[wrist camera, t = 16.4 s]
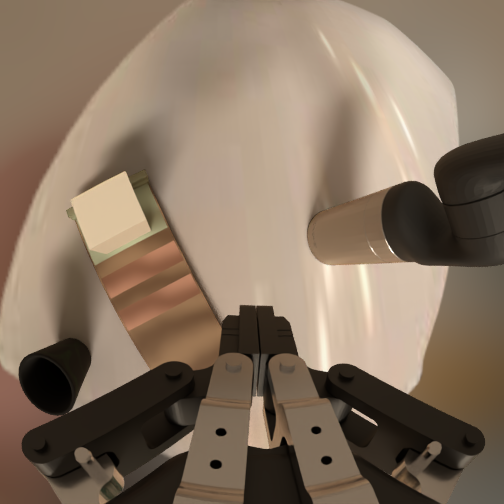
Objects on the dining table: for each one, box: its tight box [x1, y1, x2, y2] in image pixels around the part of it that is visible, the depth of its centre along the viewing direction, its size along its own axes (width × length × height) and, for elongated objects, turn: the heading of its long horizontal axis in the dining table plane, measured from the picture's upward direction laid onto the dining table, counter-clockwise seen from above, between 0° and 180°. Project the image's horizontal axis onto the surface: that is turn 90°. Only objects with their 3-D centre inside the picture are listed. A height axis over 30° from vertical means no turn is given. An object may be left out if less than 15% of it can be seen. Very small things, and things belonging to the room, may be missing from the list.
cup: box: [19, 338, 91, 416], centre depth 26 cm, size 8×8×12 cm
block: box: [71, 171, 151, 254], centre depth 30 cm, size 6×7×9 cm
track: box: [66, 169, 222, 370], centre depth 35 cm, size 29×12×4 cm, turn 26°
